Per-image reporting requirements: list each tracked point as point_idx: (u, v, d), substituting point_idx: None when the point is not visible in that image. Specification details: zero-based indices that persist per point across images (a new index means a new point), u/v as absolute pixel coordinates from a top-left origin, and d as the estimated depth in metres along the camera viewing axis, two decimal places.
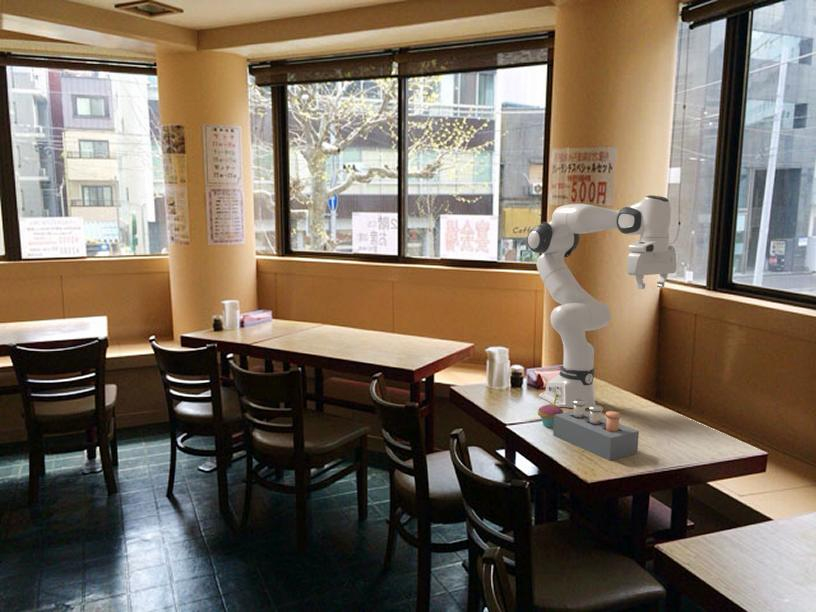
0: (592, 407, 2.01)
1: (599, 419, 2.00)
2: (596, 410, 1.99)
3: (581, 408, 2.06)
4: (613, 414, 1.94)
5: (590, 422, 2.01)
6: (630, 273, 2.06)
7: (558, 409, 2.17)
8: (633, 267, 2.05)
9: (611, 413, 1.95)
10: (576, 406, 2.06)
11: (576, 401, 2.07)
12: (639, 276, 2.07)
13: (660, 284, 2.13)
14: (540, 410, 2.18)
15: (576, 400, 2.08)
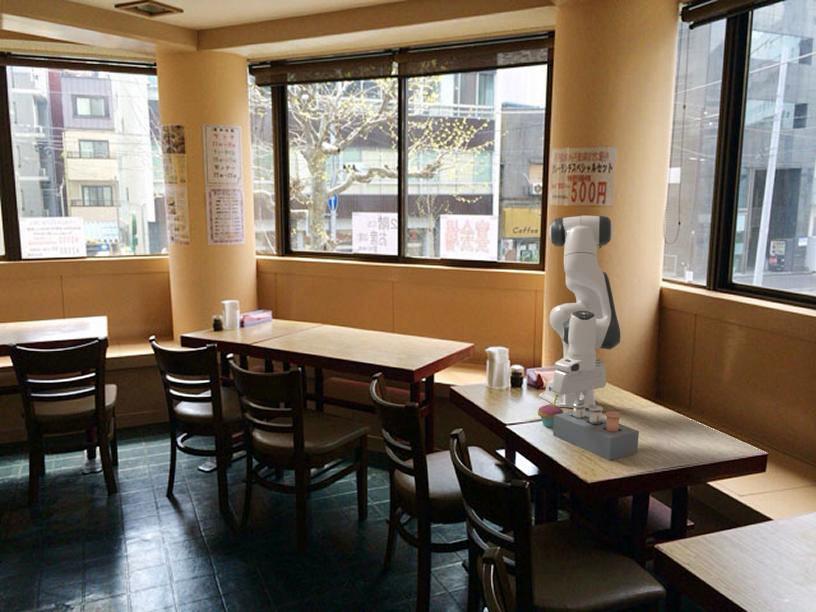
0: (592, 407, 2.01)
1: (599, 419, 2.00)
2: (596, 410, 1.99)
3: (581, 411, 2.06)
4: (613, 414, 1.94)
5: (590, 422, 2.01)
6: (556, 392, 2.02)
7: (558, 409, 2.17)
8: (558, 386, 2.00)
9: (611, 413, 1.95)
10: (576, 409, 2.06)
11: None
12: (575, 392, 2.05)
13: None
14: (540, 410, 2.18)
15: None
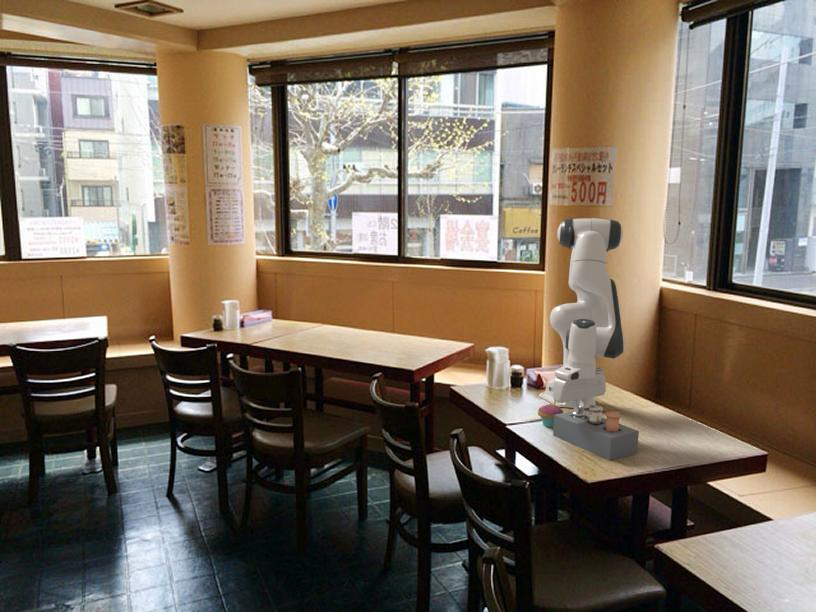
0: (592, 407, 2.01)
1: (599, 419, 2.00)
2: (596, 410, 1.99)
3: None
4: (613, 414, 1.94)
5: (590, 422, 2.01)
6: (555, 400, 2.02)
7: (558, 409, 2.17)
8: (558, 395, 2.01)
9: (611, 413, 1.95)
10: (575, 417, 2.07)
11: (575, 412, 2.07)
12: (574, 400, 2.05)
13: None
14: (540, 410, 2.18)
15: None
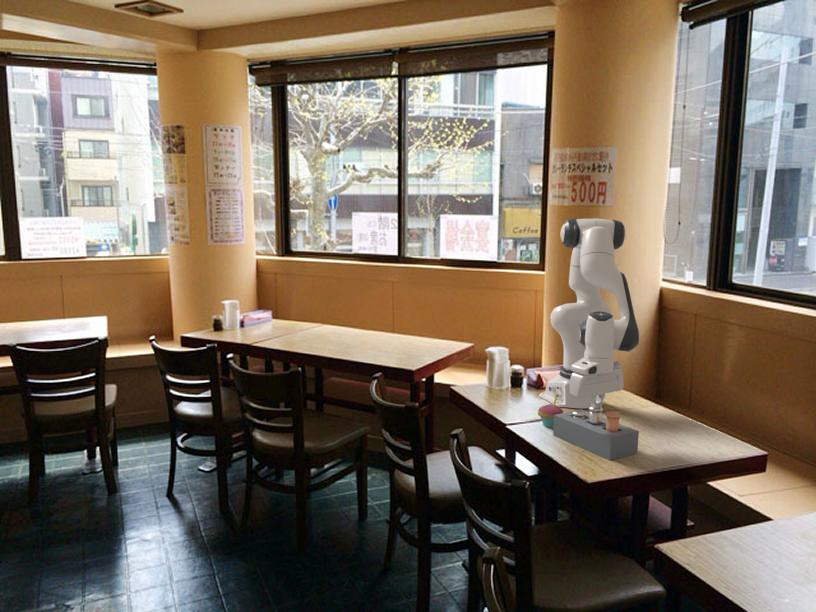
0: None
1: (599, 419, 2.00)
2: (596, 410, 1.99)
3: None
4: (613, 414, 1.94)
5: (590, 422, 2.01)
6: (573, 395, 1.96)
7: (558, 409, 2.17)
8: (575, 390, 1.94)
9: (611, 413, 1.95)
10: (575, 417, 2.07)
11: (575, 412, 2.07)
12: (592, 396, 1.99)
13: None
14: (540, 410, 2.18)
15: (575, 411, 2.08)
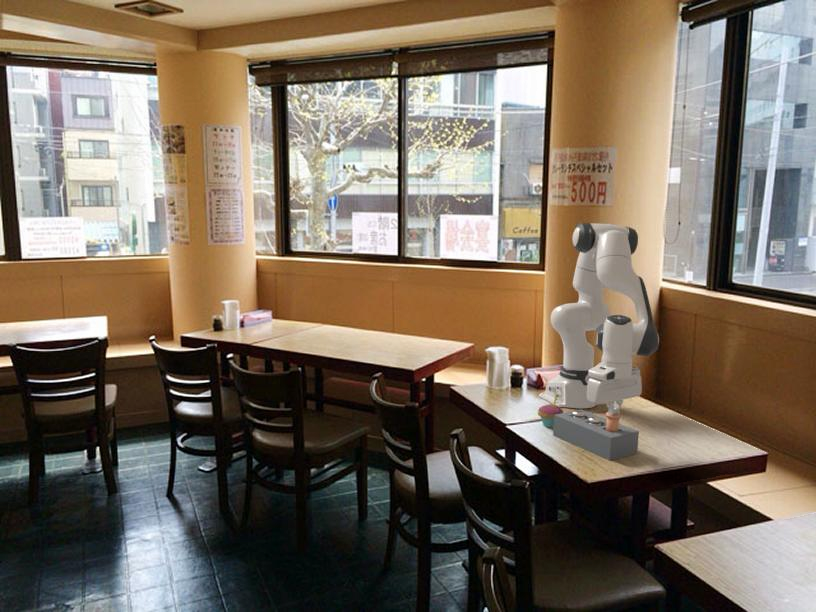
0: (591, 419, 2.01)
1: None
2: (595, 422, 2.00)
3: None
4: (613, 415, 1.94)
5: None
6: (590, 401, 1.90)
7: (558, 409, 2.17)
8: (593, 396, 1.88)
9: None
10: (575, 417, 2.07)
11: (575, 412, 2.07)
12: (609, 402, 1.93)
13: None
14: (540, 410, 2.18)
15: (575, 411, 2.08)
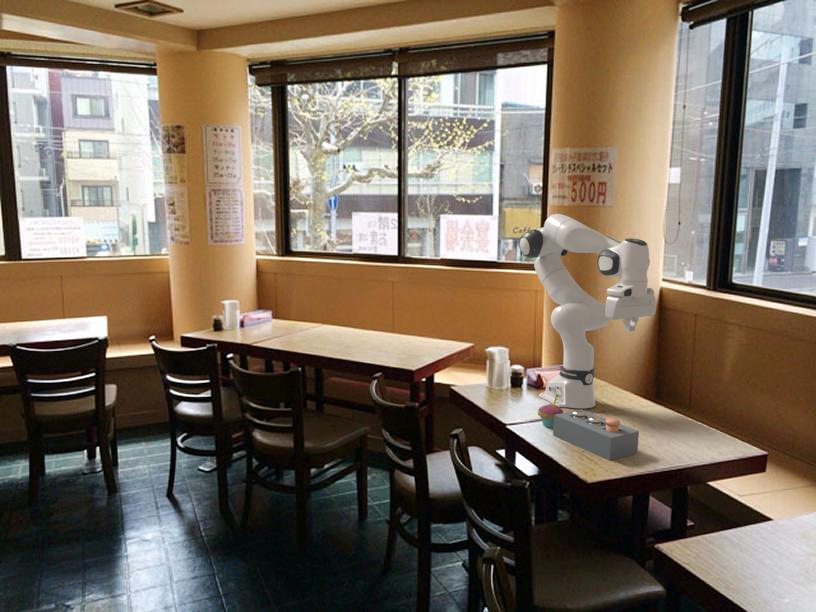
0: (591, 419, 2.01)
1: None
2: (595, 422, 2.00)
3: None
4: (613, 422, 1.94)
5: None
6: (608, 317, 2.05)
7: (558, 409, 2.17)
8: (611, 312, 2.03)
9: (611, 420, 1.95)
10: (575, 417, 2.07)
11: (575, 412, 2.07)
12: (626, 319, 2.08)
13: None
14: (540, 410, 2.18)
15: (575, 411, 2.08)
